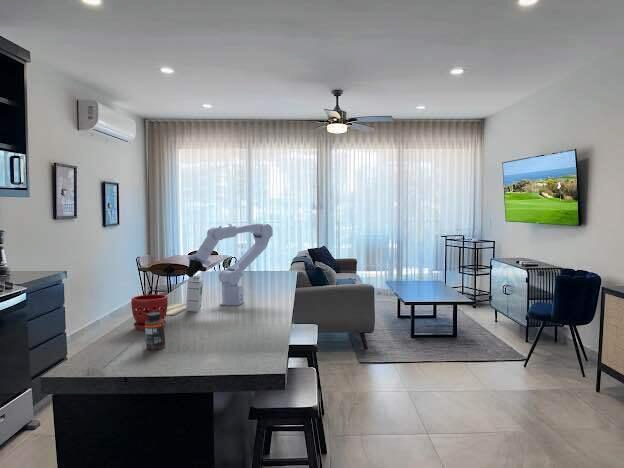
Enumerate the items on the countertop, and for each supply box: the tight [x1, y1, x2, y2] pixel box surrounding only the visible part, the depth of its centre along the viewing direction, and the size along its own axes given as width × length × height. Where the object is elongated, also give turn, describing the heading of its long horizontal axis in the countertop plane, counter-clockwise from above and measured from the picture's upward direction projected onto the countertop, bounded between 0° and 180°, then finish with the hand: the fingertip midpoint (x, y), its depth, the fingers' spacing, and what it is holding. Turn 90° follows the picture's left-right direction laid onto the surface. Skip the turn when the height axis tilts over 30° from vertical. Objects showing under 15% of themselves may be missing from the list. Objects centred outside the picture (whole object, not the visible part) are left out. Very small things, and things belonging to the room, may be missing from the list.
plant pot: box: [130, 293, 169, 331], centre depth 175 cm, size 13×13×12 cm
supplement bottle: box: [144, 312, 166, 351], centre depth 149 cm, size 6×6×11 cm
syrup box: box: [185, 275, 204, 313], centre depth 201 cm, size 6×6×14 cm
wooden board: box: [165, 303, 186, 317], centre depth 204 cm, size 12×20×1 cm, turn 169°
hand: (188, 276), depth 200 cm, fingers closed, pressing on syrup box
